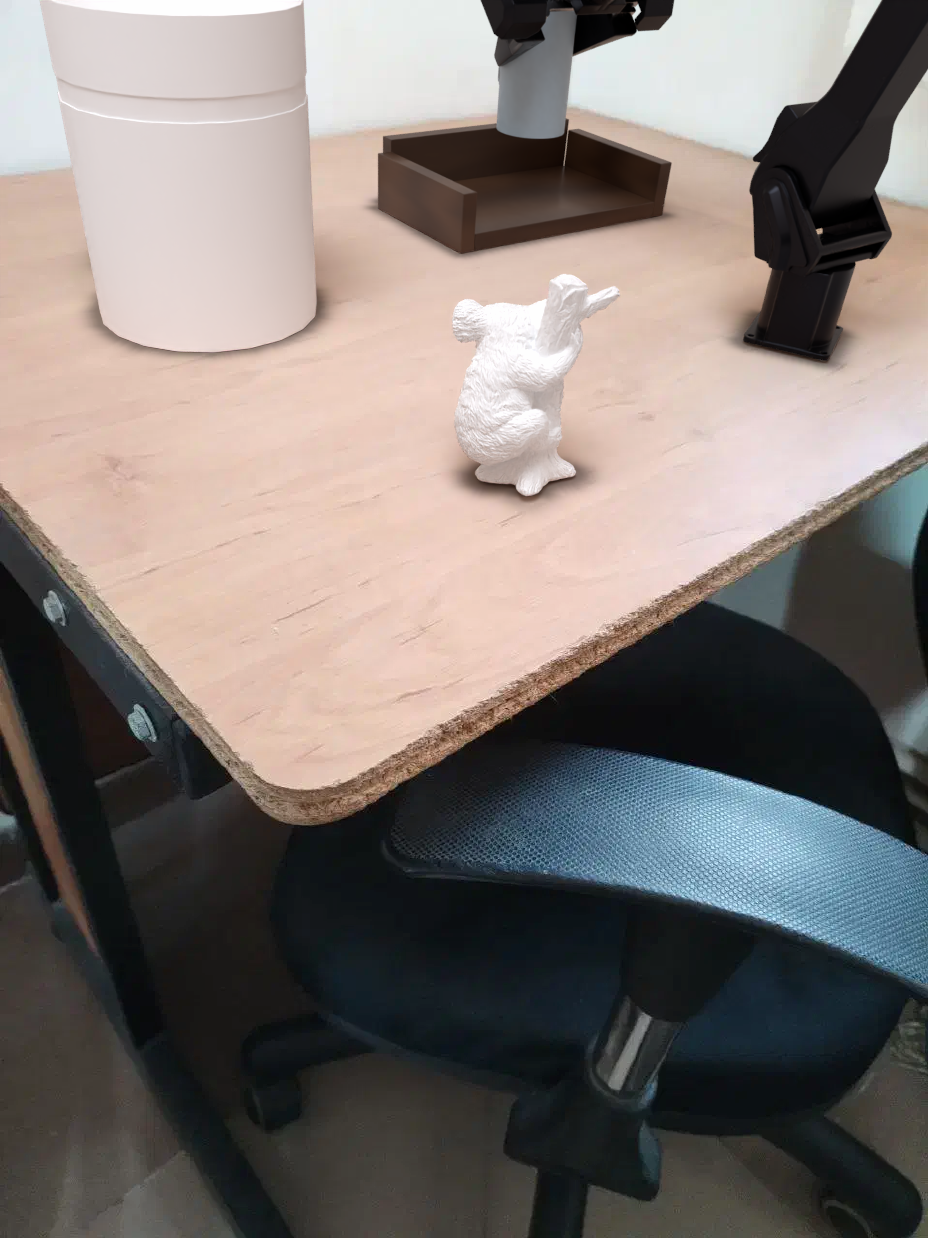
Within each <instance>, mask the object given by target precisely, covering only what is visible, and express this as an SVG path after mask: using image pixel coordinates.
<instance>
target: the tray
mask: <svg viewBox="0 0 928 1238" xmlns="http://www.w3.org/2000/svg"><path fill="white" fill-rule="evenodd" d="M569 123H570V119H569V118H567V117H566V120H565V130H564V134H563V135H562V136H559V137H555V138H548V139H531V138H521V137H515V136H510V135H507V134H504V133H502V132H500V131H498V130H497V128H496V125H497V122H496V123H487V124H477V125H470V126H462V127H461V126H459V127H451V128H443V129H433V130H425V131H416V132H407V133H398V134H389V135H383V136H382V152H378V153H377V209H378V210H380V211H382V212H384V213H386V214H388V215H390V216H391V217H393V218H395V219H397V220H399V221H401V222H402V223H404V224H406V225H407V226H410V227H412V228H413V229H415V230H417V231H418V232H421V233H422V234H424V235H426V236H428V237H429V238H431V239H433V240H435V241H437V242H438V243H441V244H442V245H444V246H446V247H448V248H450V249H452V250H453V251H455V252H457V253H459V254H464V253H470V252H476V251H481V250H486V249H492V248H496V247H497V248H498V247H502V246H509V245H513V244H518V243H524V242H528V241H529V242H530V241H533V240H539V239H544V238H549V237H555V236H560V235H566V234H571V233H576V232H582V231H587V230H593V229H597V228H603V227H607V226H614V225H619V224H623V223H624V224H625V223H629V222H634V221H639V220H644V219H645V220H646V219H649V218H654V217H660V216H663V214H664V207H665V202H666V197H667V190H668V186H669V179H670V174H671V168H672V164H673V163H672V161H669V160H666V159H664V158H661V157H659V156H655V155H652V154H651V153H647V152H644V151H641V150H639V149H636V148H633V147H631V146H628V145H625V144H622V143H619V142H617V141H614V140H611V139H609V138H605V137H604V136H601V135H597V134H595V133H592V132H589V131H586V130H584V129H581V128H572V129H569Z"/></svg>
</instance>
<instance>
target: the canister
mask: <svg viewBox="0 0 928 1238" xmlns="http://www.w3.org/2000/svg"><path fill="white" fill-rule="evenodd" d="M39 3H40V5H39V6H40V9H41V10H40V11H41V14H42V21H43V26H44V31H45V35H46V40H47V47H48V51H49V56H50V61H51V66H52V70H53V72H54V76H55V78H56V83H57V89H58V91H57V97H58V102H59V108H60V114H61V118H62V123H63V128H64V134H65V139H66V145H67V149H68V153H69V159H70V164H71V170H72V174H73V179H74V185H75V186H74V187H75V190H76V195H77V201H78V206H79V211H80V216H81V221H82V227H83V232H84V236H85V237H84V238H85V242H86V247H87V252H88V258H89V262H90V268H91V273H92V278H93V284H94V289H95V293H96V298H97V303H98V308H99V313H100V317H101V320H102V324H103V326H105V327H106V328H107V329H108V330H110V331H111V332H112V333H114V334H115V335H116V336H117V337H119V338H122V339H125V340H127V341H130V342H133V343H135V344H138V345H140V346H143V347H149V348H154V349H161V350H166V351H173V352H184V353H185V352H186V353H188V352H189V353H220V352H221V353H222V352H229V351H236V350H238V351H239V350H247V349H254V348H257V347H261V346H265V345H268V344H272V343H276V342H280V341H282V340H284V339H286V338H288V337H290V336H292V335H295V334H296V333H299V332H300V331H302V330H304V329H305V328H306V327H307V326H308V325H309V324H310V323H311V322H312V321H313V320H314V318H315V317H316V314H317V307H318V306H317V304H318V298H317V279H316V256H315V254H316V253H315V232H314V231H315V229H314V210H313V207H314V205H313V186H312V185H313V184H312V161H311V141H310V118H309V96H308V94H307V85H306V81H307V80H306V76H307V73H308V72H307V71H308V70H307V51H306V50H307V48H306V28H305V27H306V25H305V5H304V4H305V3H304V0H39Z"/></svg>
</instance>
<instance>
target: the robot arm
mask: <svg viewBox="0 0 928 1238" xmlns="http://www.w3.org/2000/svg"><path fill="white" fill-rule="evenodd" d="M480 3H481V5H482V8H483V10H484V13H485V15H486V18H487V20H488V23H489V26H490V29H491V30H492V33H493V35H494V36H496V37H497V39H496V43H495V49H494V54H493V58H494V60H495V63H496V65H497V67H499V66H503V65H505V64H507V63H509V62H511V61H513V60H514V59H516V58H517V57H519V56H521V55H522V54H524V53H525V52H527V51H528V50H530V49H532V48H533V47H535V46H537V45H538V44H540V43H541V42H543V41H544V40H545V37H544V34H543V32H542V29H541V28H542V27H543V25H544V24H545V22H546V19H547V18H548V17H549V15H550V12H558V11H574V12H575V14H576V15H577V19H576V29H575V38H574V47H573V56H572V58H573V57H575V56H578V55H580V54H584V53H586V52H588V51H591V50H594V49H596V48H599V47H601V46H605V45H608V44H610V43H613V42H615V41H616V42H617V41H618V40H622V39H624V38H628V37H633V36H634V35H636V34H637V32H651V31H660V30H661V28H662V27H663V26H664V25H665V24H666V23H667V21H669V19H670V18H671V17H672V16H673V10H674V6H675V0H480ZM636 7H638V8H639V10H640V12H639V13H638V14H637V15H636V17H634V15H635V13H636V12H637V9H636ZM927 72H928V0H880V1H879V4H878V5H877V7H876V9H875V10H874V12H873V14H872V15H871V17H870V19H869V21H868V23H867V24H866V26H865V27H864V30H863V31H862V33H861V35H860V36H859V38H858V40H857V41H856V43H855V45H854V46H853V49H852V50H851V51H850V53H849V55H848V57H847V58H846V60H845V62H844V64H843V66H842V67H841V69H840V71H839V73H838V74H837V76H836V78H835V79H834V80H833V82H832V85H831V86H830V88H829V89H828V90H827V92H826V93H825V94H824V95H823V96H822V97H821V98H819V99H818V100H817V101H810V102H803V103H795V104H787V105H785V106H784V107H783V108H782V110H781V111H780V112H779V114H778V116H777V117H776V119H775V121H774V125H773V127H772V129H771V132H770V135H769V137H768V138H767V141H766V142H765V144H764V145H763V146H762V147H761V149H760V150H759V151H758V152H757V153H756V154H755V155H753V157H752V161H753V162H754V163H758V164H757V166H756V168H755V169H754V172H753V174H752V177H751V180H750V184H749V190H748V191H749V192H748V193H749V194H750V196H751V201H752V218H753V219H752V221H753V223H752V224H753V225H752V226H753V252H754V254H753V255H754V257H755V258H756V259H759V260H761V261H763V262H765V263H766V264H767V266H768V268H770V269H771V270H770V273H769V278H768V282H767V286H766V289H765V293H764V297H763V301H762V305H761V308H760V311H759V312H758V313H757V315H756V317H754V320H752V322H751V324H750V325H749V327H748V328H747V330H746V331H745V332H744V334H743V337H742V341H743V342H744V343H747V344H751V345H755V346H760V347H764V348H767V349H772V350H776V351H780V352H781V351H782V352H784V353H789V354H793V355H797V356H801V357H805V358H809V359H814V360H817V361H823V362H827V361H829V360H830V359H831V357H832V355H833V353H834V350H835V348H836V346H837V344H838V342H839V340H840V338H841V336H842V334H843V331H844V327H843V326H841V325H838V322H839V320H840V315H841V313H842V309H843V306H844V303H845V300H846V297H847V293H848V291H849V287H850V284H851V281H852V278H853V275H854V272H855V269H856V265H857V264H856V263H859V262H862V261H865V260H874V259H877V258H878V257H879V255H880V254H881V253H882V251H883V250H884V249H885V248H886V246H887V245H888V243H889V242H890V240H891V239H892V237H893V232H892V229H891V226H890V223H889V222H888V219H887V216H886V214H885V212H884V209H883V206H882V204H881V201H880V199H879V196H878V194H877V191H876V187H877V185H878V183H879V181H880V179H881V177H882V175H883V173H884V171H885V170H886V167H887V165H888V162H889V158H890V152H891V146H892V141H893V140H892V139H893V134H894V133H893V132H894V126H895V123H896V121H897V118H898V116H900V115H899V114H900V113H901V111H902V110H903V108H904V107H905V105H906V104H907V103H908V101H909V99H910V97H911V96H912V95H913V93H914V91H915V90H916V88H917V87H918V86H919V84H920V82H922V80H923V78H924V76H925V75H926V73H927ZM820 229H822V230H821V231H822V232H821V233H818V231H817V230H820Z"/></svg>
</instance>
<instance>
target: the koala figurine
mask: <svg viewBox="0 0 928 1238" xmlns="http://www.w3.org/2000/svg"><path fill="white" fill-rule="evenodd" d="M547 290H548V293H547V298H544V299H543V300H538V301H536V302H534V303H531V304H529V305H523V304H517V303H510V302H506V301H504V302H494V303H490V304H486V305H485V306H483V305H482V304H481V303H479V302H477V300H475V299H471V298H464V299H463V300H460V301H458V302H457V304H456V305H455V306H454V308H453V312H452V317H451V323H452V324H451V327H452V329H451V330H452V334H453V336H454V338H455V339H456V341H458V342H459V343H462V344H463V343H464V344H466V343H470V342H475V346H474V348H475V353H474V355H473V357H472V358H471V360H470V362H471V363H470V365H469V366H468V367H467V368H466V370H465V375H464V379H463V383H462V385H461V388H460V394H459V396H458V398H457V399H458V400H457V405H456V408H455V411H454V420H453V425H454V432H455V435H456V439H457V443H458V445H459V446H460V448H461V450H462V451H463V453H464V454H465V455H466V457H467V458H469V459H471V460H472V461H473V462H476V463H478V464H480V465H479V466H478V467H477V468H476V469H475V471H474V475H475V477H476V478H477V479H478V481H480V482H485V483H489V484H501V485H502V484H503V485H514V486H515V489H516V491H517V492H518V493H519V494H520V495H522V496H525V497H529V496H534V495H537V494H539V493H540V491H541V490H542V489H543V487H545V486H546V485H547V484H548V483H549V482H553V481H558V480H560V479H561V480H562V479H566V478H567V479H568V478H573V477H574V476H575V475H576V474H577V470H576V468H575V466H574V465H573V464H572V463H571V462H569V461H567V460H565V459H563V458H562V457H561V456H560V455H559V454H558V447H559V446H560V442H561V441H562V439H563V434H562V428H563V427H562V426H561V425H562V418H561V411H562V408H561V406H562V404H563V399H564V389H565V379H564V378H565V377H566V376H567V375H568V373H569V372H570V371H571V370H572V369H573V366H574V365H575V363H576V361H577V360H578V358H579V355H580V353H581V351H582V349H583V343H584V332H583V329H582V325H581V322H583V321H584V320H586V319H590V318H591V317H592V316H593V315H595V314H596V313H598V312H599V311H602V310H605V309H607V308H608V307H609V306H610V305H611V304H613V303H614V302H616V301H617V299H618V298H619V297H621V293H620V289H619V288H618V287H617V286H615V285H612V286H609V287H607V288H604V289H601V290H599V291H597V292H596V293H592V294H588V292H589V288H588V285H587V283H586V282H584V281H582V279H580V278H579V277H577V276H575V275H574V274H569V273H561V274H559V275H557V276H555V277H554V278H551V279H549V283H548V289H547Z"/></svg>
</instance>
